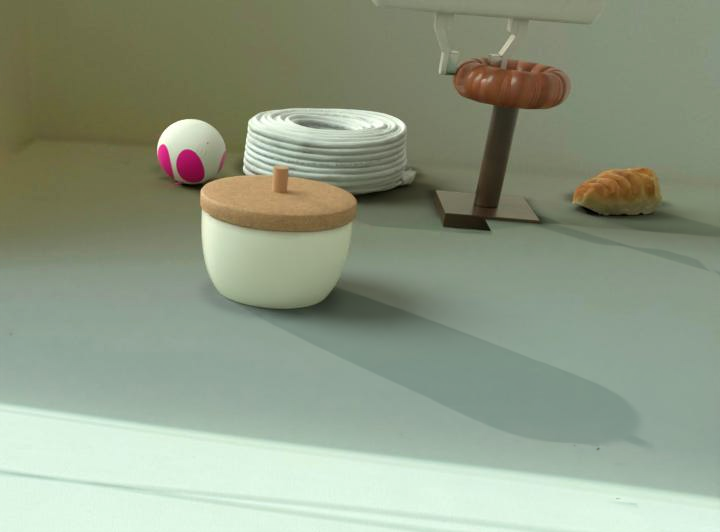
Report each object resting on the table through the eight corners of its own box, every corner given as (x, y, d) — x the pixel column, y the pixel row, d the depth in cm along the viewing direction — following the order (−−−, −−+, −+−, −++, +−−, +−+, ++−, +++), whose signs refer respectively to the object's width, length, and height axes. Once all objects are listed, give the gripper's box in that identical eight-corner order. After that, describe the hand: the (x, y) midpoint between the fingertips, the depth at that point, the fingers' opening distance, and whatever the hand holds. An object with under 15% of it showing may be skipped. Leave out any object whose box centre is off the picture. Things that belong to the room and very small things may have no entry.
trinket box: (172, 316, 65) (174, 170, 59) (230, 275, 73) (236, 142, 67) (317, 346, 62) (334, 196, 56) (360, 299, 70) (379, 163, 64)
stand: (520, 209, 95) (547, 95, 88) (536, 233, 88) (567, 112, 81) (433, 202, 95) (453, 88, 88) (442, 226, 88) (465, 104, 81)
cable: (424, 179, 102) (435, 118, 99) (368, 212, 90) (377, 143, 86) (283, 155, 108) (288, 96, 104) (212, 182, 96) (214, 116, 92)
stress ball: (152, 212, 97) (126, 160, 92) (191, 156, 99) (167, 101, 93) (209, 224, 94) (185, 171, 88) (248, 166, 95) (227, 109, 90)
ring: (551, 96, 89) (559, 62, 87) (575, 116, 81) (585, 80, 79) (444, 85, 89) (451, 51, 87) (458, 104, 81) (465, 67, 79)
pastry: (602, 221, 93) (614, 179, 90) (552, 204, 97) (562, 165, 95) (662, 213, 97) (675, 173, 95) (612, 197, 101) (623, 159, 99)
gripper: (624, -110, 77) (576, 80, 86) (382, -129, 78) (359, 62, 86) (645, -111, 73) (592, 90, 81) (386, -131, 73) (361, 72, 81)
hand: (470, 76), depth 84 cm, fingers closed on ring, 3 cm apart
